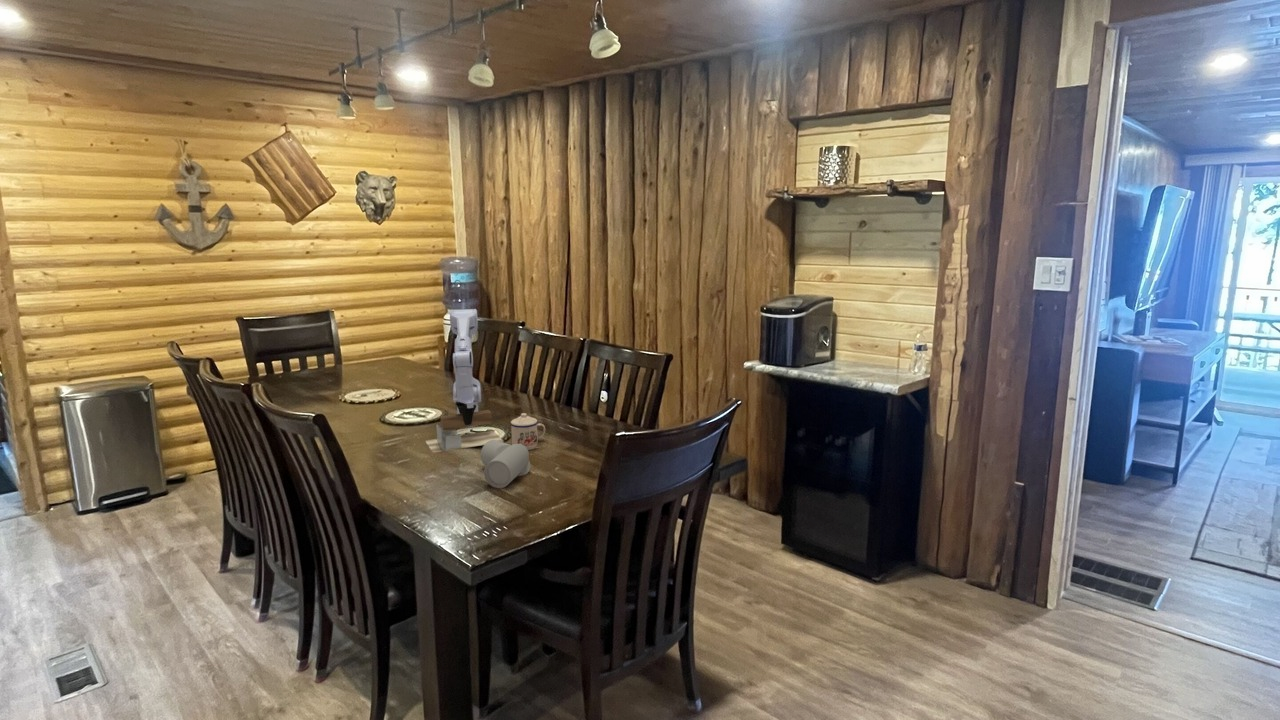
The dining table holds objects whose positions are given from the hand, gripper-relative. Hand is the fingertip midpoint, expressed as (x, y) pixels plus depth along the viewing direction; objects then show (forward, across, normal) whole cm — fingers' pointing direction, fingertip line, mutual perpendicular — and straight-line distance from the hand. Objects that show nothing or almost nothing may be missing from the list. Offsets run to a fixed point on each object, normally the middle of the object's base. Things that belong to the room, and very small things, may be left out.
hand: (466, 423), depth 243 cm
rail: (+1, 0, 0) cm, 1 cm away
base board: (+6, +4, -2) cm, 8 cm away
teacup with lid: (+6, +17, +17) cm, 25 cm away
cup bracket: (+5, +7, -8) cm, 12 cm away
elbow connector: (+6, +39, +1) cm, 40 cm away
